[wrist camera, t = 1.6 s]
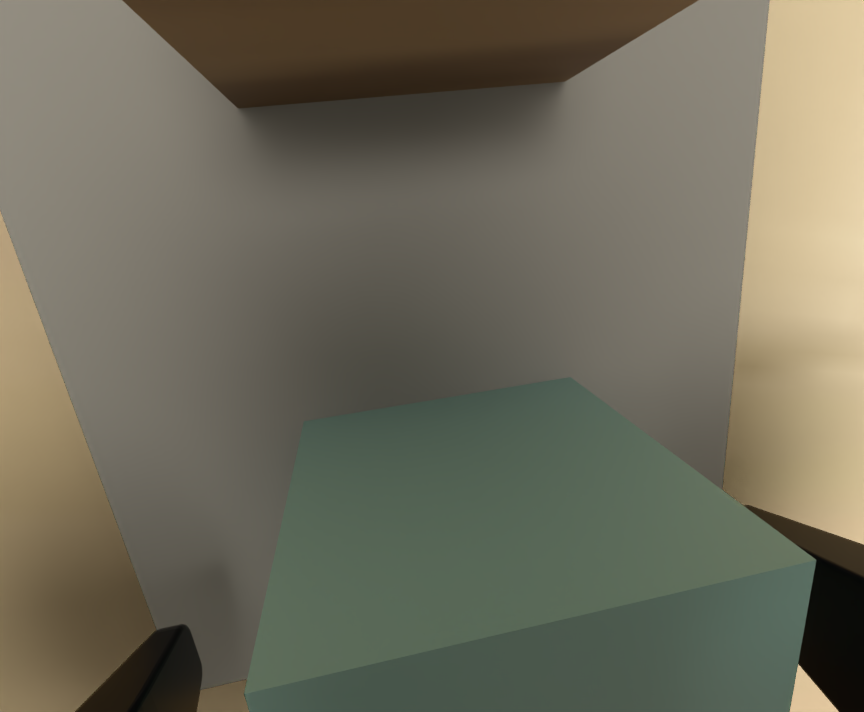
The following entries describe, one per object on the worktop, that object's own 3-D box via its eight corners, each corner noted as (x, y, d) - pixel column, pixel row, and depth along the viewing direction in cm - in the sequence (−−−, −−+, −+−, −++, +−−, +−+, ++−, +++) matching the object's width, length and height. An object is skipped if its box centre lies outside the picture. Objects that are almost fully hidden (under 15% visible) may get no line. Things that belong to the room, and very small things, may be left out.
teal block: (574, 585, 10) (757, 892, 6) (348, 636, 10) (348, 1025, 5) (570, 377, 9) (815, 560, 4) (304, 420, 8) (243, 694, 4)
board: (685, 543, 12) (714, 571, 11) (195, 651, 11) (180, 694, 10) (748, -329, 7) (809, -411, 6) (-155, -362, 6) (-255, -475, 5)
